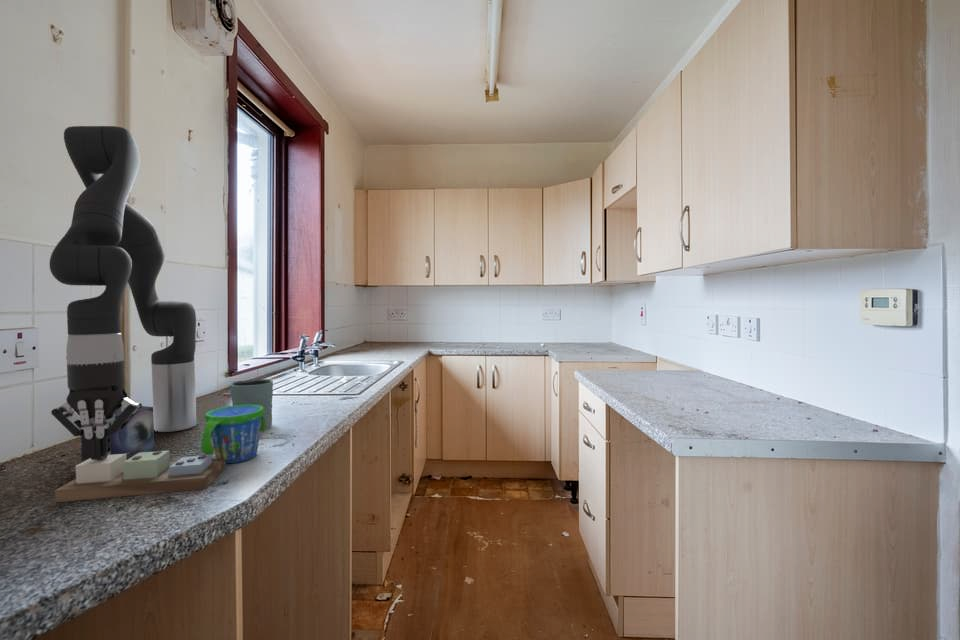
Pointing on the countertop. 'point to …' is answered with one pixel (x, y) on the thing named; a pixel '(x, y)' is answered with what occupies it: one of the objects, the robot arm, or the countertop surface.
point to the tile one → (100, 469)
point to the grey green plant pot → (254, 395)
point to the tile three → (190, 465)
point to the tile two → (146, 465)
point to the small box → (130, 435)
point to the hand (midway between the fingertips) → (99, 458)
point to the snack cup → (233, 432)
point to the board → (139, 485)
